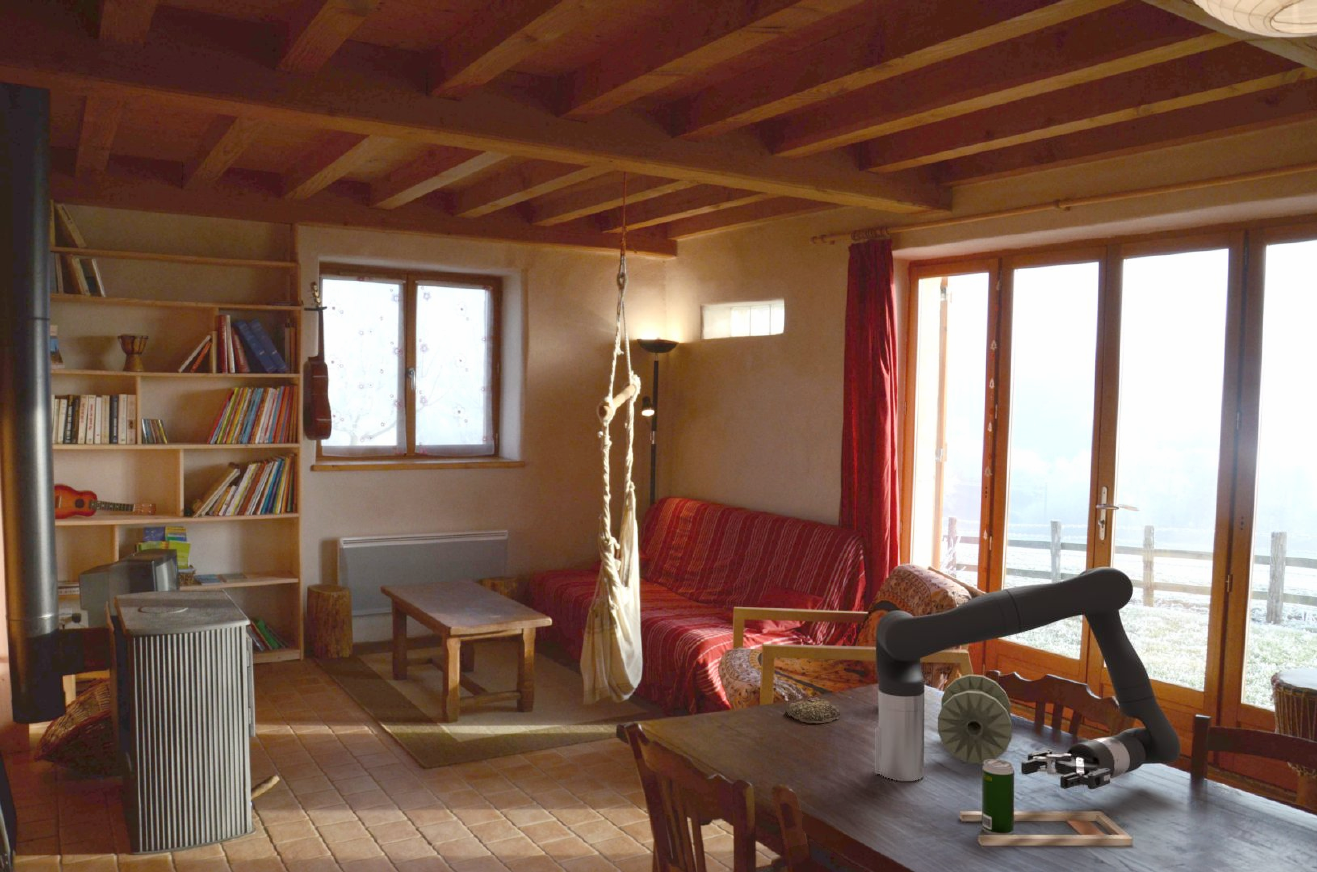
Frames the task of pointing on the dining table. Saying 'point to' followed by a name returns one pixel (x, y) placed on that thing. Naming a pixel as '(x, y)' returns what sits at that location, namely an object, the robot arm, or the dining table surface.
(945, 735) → the spool
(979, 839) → the frame
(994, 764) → the beer can
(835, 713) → the speckled domed shell
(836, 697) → the dining table surface
